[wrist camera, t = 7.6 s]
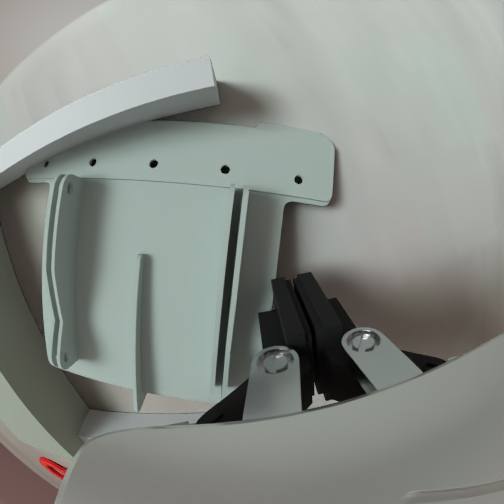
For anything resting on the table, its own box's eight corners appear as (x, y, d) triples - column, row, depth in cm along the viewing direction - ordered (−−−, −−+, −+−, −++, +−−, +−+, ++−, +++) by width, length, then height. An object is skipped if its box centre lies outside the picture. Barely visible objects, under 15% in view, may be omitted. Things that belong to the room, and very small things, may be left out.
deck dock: (216, 80, 10) (202, 30, 5) (278, 414, 16) (287, 473, 12) (-50, 209, 10) (-90, 226, 5) (39, 407, 17) (20, 441, 12)
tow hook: (60, 474, 25) (98, 489, 24) (41, 522, 12) (81, 544, 12) (32, 449, 22) (69, 466, 22) (7, 501, 10) (45, 527, 9)
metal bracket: (303, 440, 10) (9, 378, 8) (280, 382, 15) (59, 345, 14) (349, 102, 9) (28, 95, 8) (310, 146, 15) (77, 131, 14)
